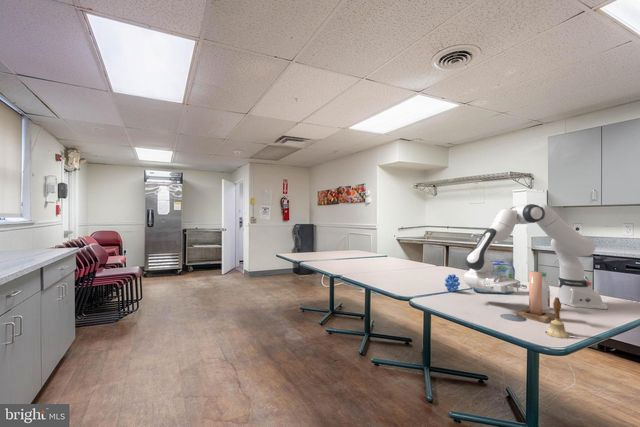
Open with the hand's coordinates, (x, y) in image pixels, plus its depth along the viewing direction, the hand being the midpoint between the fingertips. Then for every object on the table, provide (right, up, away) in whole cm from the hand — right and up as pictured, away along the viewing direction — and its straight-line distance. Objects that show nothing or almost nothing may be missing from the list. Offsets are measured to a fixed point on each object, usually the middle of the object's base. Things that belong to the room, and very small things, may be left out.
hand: (522, 288), depth 156 cm
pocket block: (+3, -14, -5) cm, 15 cm away
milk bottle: (+17, -14, +10) cm, 24 cm away
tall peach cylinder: (+3, -13, -5) cm, 14 cm away
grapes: (-15, -14, +47) cm, 51 cm away
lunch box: (+10, -14, +47) cm, 50 cm away
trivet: (-8, -14, -6) cm, 17 cm away
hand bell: (-1, -14, -24) cm, 28 cm away
